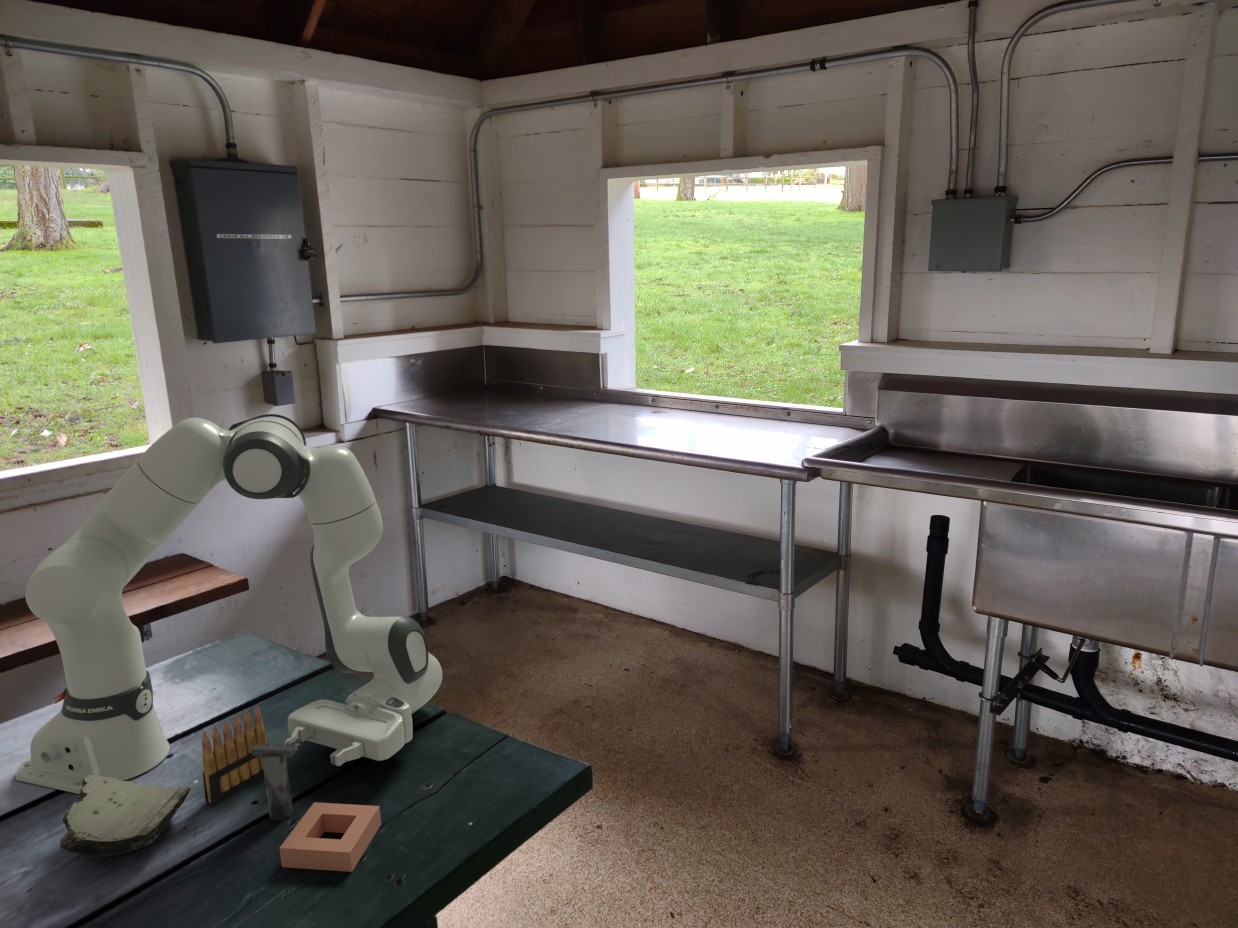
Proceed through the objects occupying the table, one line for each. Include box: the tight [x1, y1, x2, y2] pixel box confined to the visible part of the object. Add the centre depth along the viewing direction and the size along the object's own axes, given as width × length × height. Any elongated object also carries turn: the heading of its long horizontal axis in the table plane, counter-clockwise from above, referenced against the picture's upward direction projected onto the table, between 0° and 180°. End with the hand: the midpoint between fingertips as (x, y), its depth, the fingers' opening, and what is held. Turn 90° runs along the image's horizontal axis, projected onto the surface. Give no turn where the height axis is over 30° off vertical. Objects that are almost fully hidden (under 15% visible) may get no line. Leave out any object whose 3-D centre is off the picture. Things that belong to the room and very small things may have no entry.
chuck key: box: [251, 744, 296, 822], centre depth 125 cm, size 6×3×11 cm, turn 83°
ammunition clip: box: [201, 704, 269, 807], centre depth 132 cm, size 11×2×12 cm, turn 148°
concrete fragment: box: [59, 775, 191, 858], centre depth 120 cm, size 15×10×15 cm
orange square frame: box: [278, 801, 382, 873], centre depth 119 cm, size 10×10×3 cm
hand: (310, 754), depth 131 cm, fingers open, 8 cm apart
